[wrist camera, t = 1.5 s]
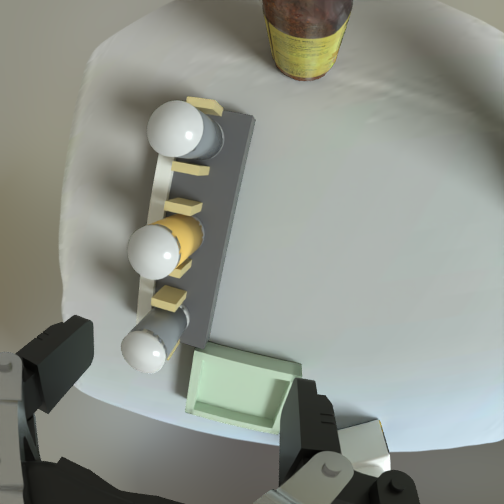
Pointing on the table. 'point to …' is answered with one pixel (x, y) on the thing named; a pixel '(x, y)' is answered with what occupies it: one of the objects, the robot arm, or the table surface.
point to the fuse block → (210, 214)
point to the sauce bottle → (306, 34)
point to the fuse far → (154, 338)
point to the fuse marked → (164, 245)
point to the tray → (239, 387)
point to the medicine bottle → (365, 448)
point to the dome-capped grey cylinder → (184, 132)
